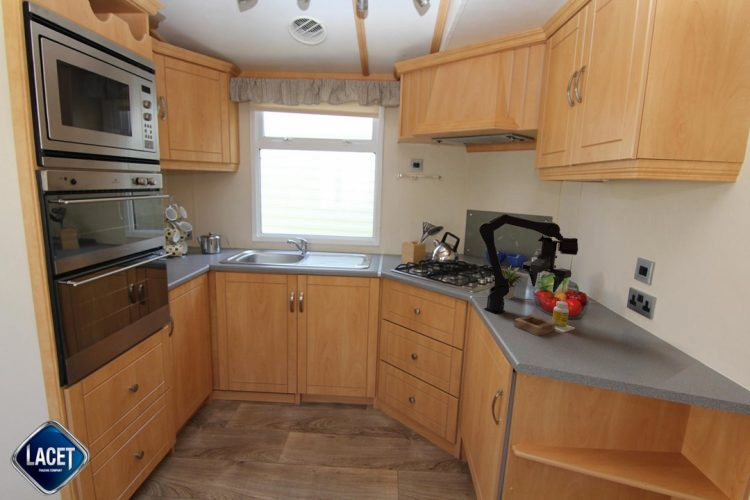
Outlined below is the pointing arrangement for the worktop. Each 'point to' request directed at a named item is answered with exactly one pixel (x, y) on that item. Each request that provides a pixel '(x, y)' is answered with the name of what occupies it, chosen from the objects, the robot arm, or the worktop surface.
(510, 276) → the house plant
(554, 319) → the supplement bottle
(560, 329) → the mat
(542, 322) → the socket block
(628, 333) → the worktop surface
